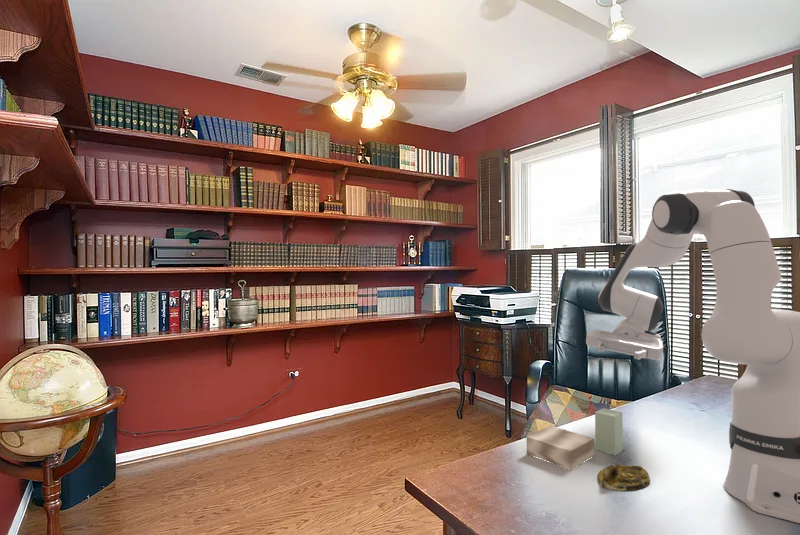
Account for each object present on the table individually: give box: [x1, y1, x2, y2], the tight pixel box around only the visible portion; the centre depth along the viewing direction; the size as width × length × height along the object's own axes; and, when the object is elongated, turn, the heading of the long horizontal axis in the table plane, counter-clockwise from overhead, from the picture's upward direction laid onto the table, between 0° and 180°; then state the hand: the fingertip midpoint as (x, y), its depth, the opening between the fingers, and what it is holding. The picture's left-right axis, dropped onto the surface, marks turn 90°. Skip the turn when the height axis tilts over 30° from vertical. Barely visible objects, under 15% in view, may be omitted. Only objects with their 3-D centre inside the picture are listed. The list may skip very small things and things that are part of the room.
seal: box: [597, 464, 651, 492], centre depth 97 cm, size 9×5×15 cm
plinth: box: [526, 425, 595, 471], centre depth 109 cm, size 12×12×5 cm
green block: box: [594, 407, 624, 456], centre depth 113 cm, size 5×5×10 cm
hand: (618, 352), depth 120 cm, fingers open, 8 cm apart
